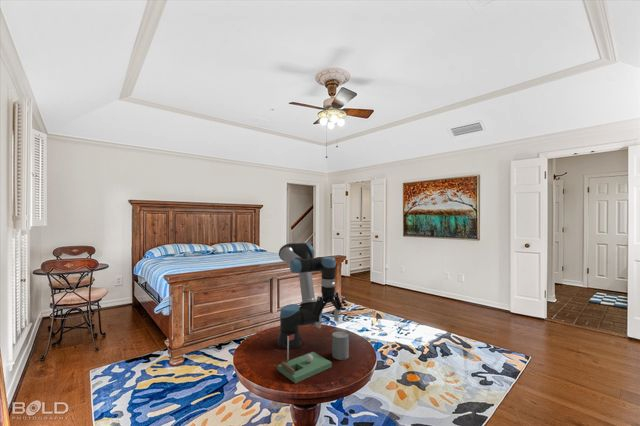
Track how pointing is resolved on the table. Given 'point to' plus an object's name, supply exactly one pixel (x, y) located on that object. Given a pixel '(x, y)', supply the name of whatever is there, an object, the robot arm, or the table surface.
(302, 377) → the green
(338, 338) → the grey can
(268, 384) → the table surface
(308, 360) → the ball
